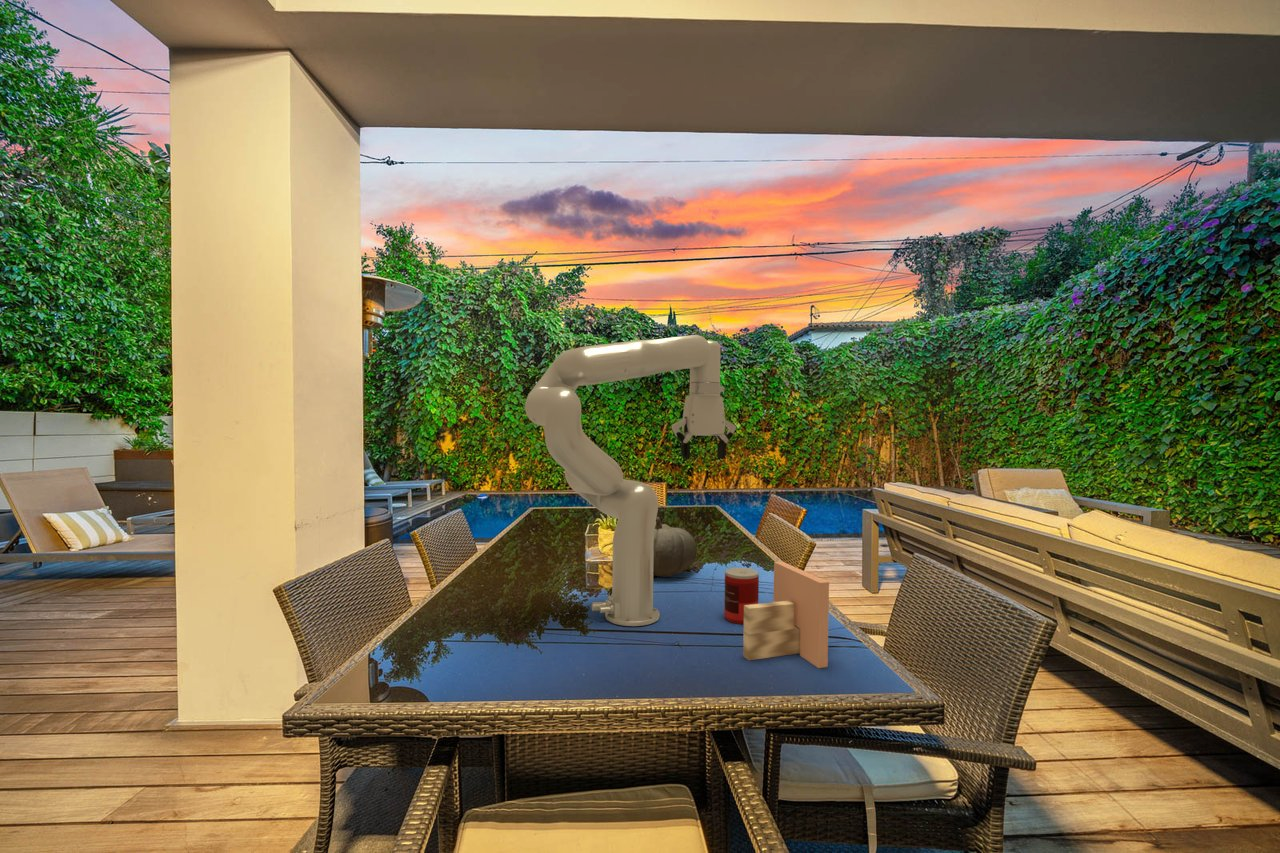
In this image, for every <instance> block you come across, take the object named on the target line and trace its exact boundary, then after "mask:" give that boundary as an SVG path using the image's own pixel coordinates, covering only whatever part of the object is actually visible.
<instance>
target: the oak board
mask: <svg viewBox="0 0 1280 853" xmlns="http://www.w3.org/2000/svg"><path fill="white" fill-rule="evenodd" d="M742 642H743V644H742V645H743V648H742V649H743V650H742V656H743V658H744V659H745V660H747V661H755V660H761V659H762V660H763V659H768V658H777V657H782V656H789V655H796V654H800V628H798V627H797V626H795V625H794V604H793V603H792V602H790V601H781V602H773V601H772V602H763V603H758V604H752V605H744V624H743V641H742Z"/></svg>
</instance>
